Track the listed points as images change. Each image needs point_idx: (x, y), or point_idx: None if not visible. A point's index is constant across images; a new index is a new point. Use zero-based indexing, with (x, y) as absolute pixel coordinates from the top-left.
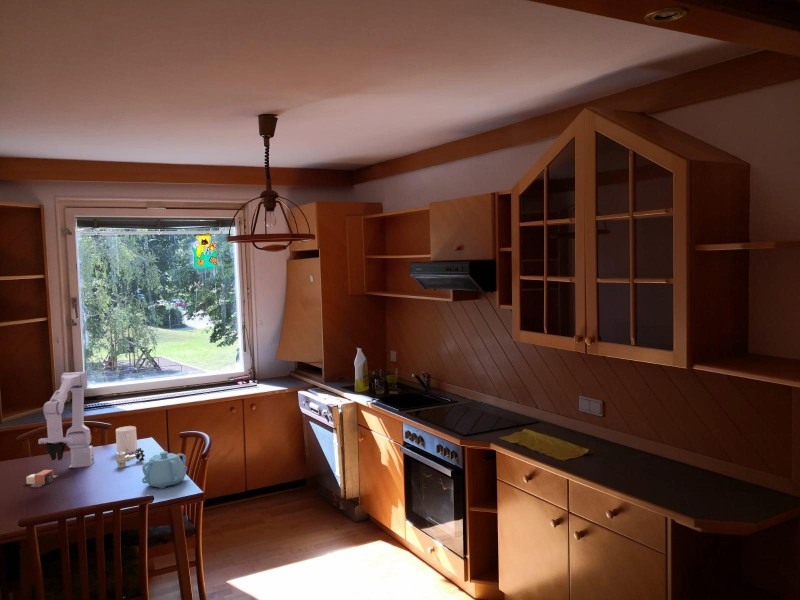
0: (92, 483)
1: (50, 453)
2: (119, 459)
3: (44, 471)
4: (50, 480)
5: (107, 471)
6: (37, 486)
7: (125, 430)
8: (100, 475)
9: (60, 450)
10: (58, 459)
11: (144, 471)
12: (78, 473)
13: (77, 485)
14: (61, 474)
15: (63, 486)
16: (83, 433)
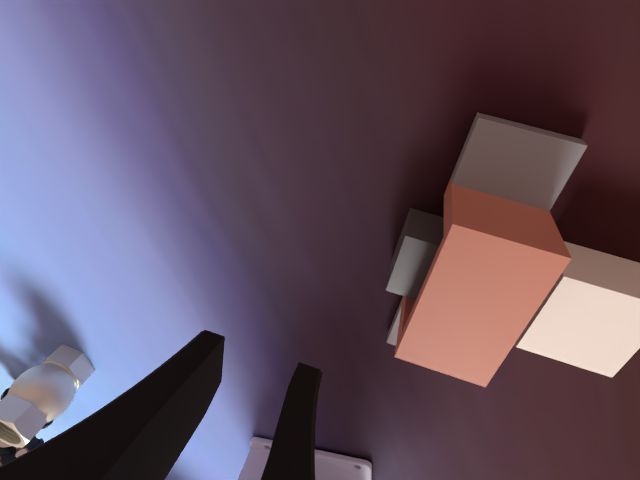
0: (30, 83)
1: (285, 475)
2: (25, 385)
3: (470, 341)
4: (402, 233)
5: (101, 317)
6: (504, 121)
7: None
8: (95, 258)
9: (37, 456)
10: (208, 339)
11: None
12: (265, 351)
13: (121, 60)
14: (379, 378)
15: (235, 65)
16: None
